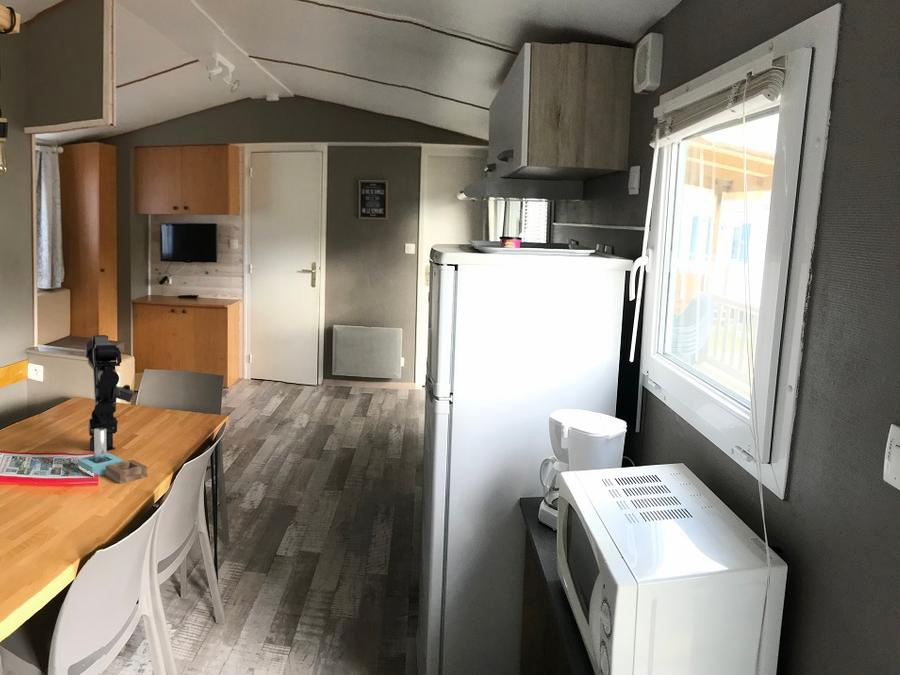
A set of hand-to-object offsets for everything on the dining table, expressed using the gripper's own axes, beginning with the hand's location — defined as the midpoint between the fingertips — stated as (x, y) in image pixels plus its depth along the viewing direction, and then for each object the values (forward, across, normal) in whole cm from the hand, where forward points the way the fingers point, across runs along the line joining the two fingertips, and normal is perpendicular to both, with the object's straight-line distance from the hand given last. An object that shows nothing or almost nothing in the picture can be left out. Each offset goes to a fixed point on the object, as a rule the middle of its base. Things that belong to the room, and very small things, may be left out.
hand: (106, 425), depth 225 cm
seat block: (+13, -8, +2) cm, 15 cm away
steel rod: (+13, -8, +2) cm, 15 cm away
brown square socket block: (+13, -16, -6) cm, 21 cm away
